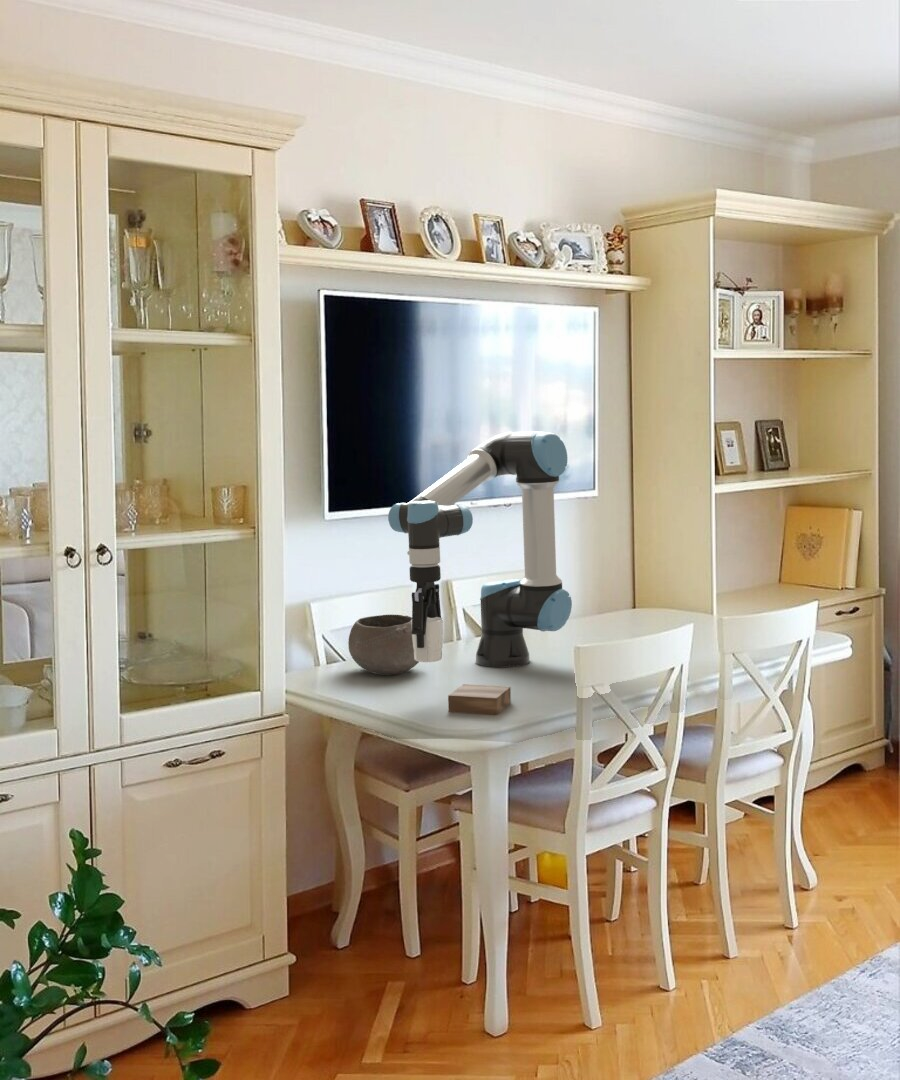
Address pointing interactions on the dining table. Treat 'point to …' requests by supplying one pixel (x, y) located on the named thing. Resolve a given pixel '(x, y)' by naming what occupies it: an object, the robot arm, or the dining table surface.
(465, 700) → the walnut plinth
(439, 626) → the white cup
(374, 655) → the clay pot
